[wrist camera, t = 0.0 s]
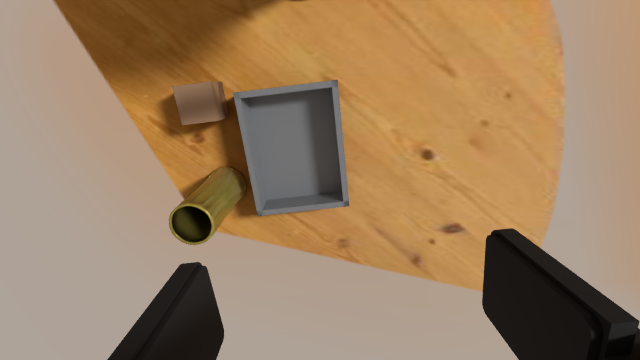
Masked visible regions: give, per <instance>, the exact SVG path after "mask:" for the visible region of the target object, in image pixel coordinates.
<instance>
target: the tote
mask: <svg viewBox="0 0 640 360" xmlns="http://www.w3.org/2000/svg"><path fill="white" fill-rule="evenodd" d="M233 95H234V100H235V105H236V110H237V115H238V120H239V125H240V130H241V135H242V140H243V145H244V150H245V155H246V160H247V165H248V170H249V175H250V180H251V185H252V190H253V195H254V200H255V205H256V210H257V215H258V216H263V215H272V214H281V213H290V212H299V211H308V210H317V209H326V208H336V207H345V206H349V197H348V186H347V176H346V165H345V154H344V144H343V133H342V123H341V112H340V101H339V91H338V80H333V81H325V82H317V83H308V84H300V85H292V86H284V87H276V88H268V89H260V90H252V91H244V92H236V93H233Z"/></svg>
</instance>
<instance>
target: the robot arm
mask: <svg viewBox="0 0 640 360" xmlns="http://www.w3.org/2000/svg"><path fill="white" fill-rule="evenodd" d="M482 305H483V309H484V312H485V314H486V315H487V317H488V318H489V319H490V321H491V322H492V323H493V325H494V326H495V328H496V329H497V330H498V332H499V333H500V334H501V336H502V337H503V339H504V340H505V341H506V343H507V344H508V345H509V347H510V348H511V350H512V351H513V352H514V354H515V355H516V356H517V358H518V359H519V360H640V329H639V328H638V325H639V321H638V320H637V319H636V318H634V317H633V316H631V315H630V314H629V313H627V312H626V311H625V310H623V309H622V308H621V307H619V306H618V305H617V304H615V303H614V302H612V301H611V300H610V299H609V298H607V297H606V296H604V295H603V294H602V293H600V292H599V291H598V290H596V289H595V288H594V287H592V286H591V285H589V284H588V283H587V282H585V281H584V280H583V279H581V278H580V277H579V276H577V275H576V274H575V273H573V272H572V271H571V270H569V269H568V268H566V267H565V266H564V265H562V264H561V263H560V262H558V261H557V260H556V259H554V258H553V257H552V256H550V255H549V254H547V253H546V252H545V251H543V250H542V249H541V248H539V247H538V246H537V245H535V244H534V243H532V242H531V241H530V240H528V239H527V238H526V237H524V236H523V235H522V234H520V233H519V232H518V231H516V230H515V229H501V230H494V231H492V233H491V235H488V236H487V238H486V250H485V266H484V283H483V299H482ZM223 338H224V328H223V324H222V321H221V317H220V313H219V310H218V306H217V302H216V299H215V295H214V292H213V288H212V284H211V281H210V277H209V273H208V270H207V267H206V266H202V265H201V263H199V262H195V263H186V264H181V265H180V266H179V267H178V268H177V269H176V271H175V272H174V273H173V275H172V276H171V277H170V279H169V280H168V281H167V282H166V284H165V285H164V286H163V288H162V289H161V290H160V292H159V293H158V294H157V296H156V297H155V298H154V299H153V301H152V302H151V303H150V305H149V306H148V307H147V309H146V310H145V311H144V313H143V314H142V315H141V317H140V318H139V319H138V320H137V322H136V323H135V324H134V326H133V327H132V328H131V330H130V331H129V332H128V334H127V335H126V336H125V337H124V339H123V340H122V341H121V343H120V344H119V345H118V347H117V348H116V349H115V350H114V352H113V353H112V354H111V356H110V357H109V358H108V360H216V358H217V356H218V353H219V350H220V348H221V345H222V342H223Z"/></svg>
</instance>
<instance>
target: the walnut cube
mask: <svg viewBox="0 0 640 360" xmlns="http://www.w3.org/2000/svg"><path fill="white" fill-rule="evenodd" d="M172 89H173V93H174V97H175V100H176V104H177V108H178V112H179V116H180V120H181V124H182V125H188V124H196V123H205V122H213V121H219V120H222V119H225V118H228V117H229V114H228V109H227V105H226V100H225V95H224V90H223V85H222V82H203V83H195V84H187V85H179V86H172Z"/></svg>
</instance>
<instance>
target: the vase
mask: <svg viewBox="0 0 640 360" xmlns="http://www.w3.org/2000/svg"><path fill="white" fill-rule="evenodd" d="M245 192H246V182H245V179H244V177H243V176H242V174H241V173H239V172H238V171H237V170H235V169H233V168H230V167H221V168H218V169H216V170H214V171H213V172H212V173H211V174H210V176H209V177H208V178H207V179H206V180H205V181H204V182H203V183H202V184H201V185H200V186H199V187H198V188H197V189H196V190H195V191H194V192H193V193H192V194H190V195H189V196H188V197H187V198H186V199H185V200H184V201H183V202H182V203H181V204H180V205H179V206H177V207H176V208H175V209H174V210H173V211H172V212H171V214H170V218H169V226H170V229H171V231H172V233H173V235H174V236H175V237H176V238H177V239H179V240H180V241H181V242H183V243H186V244H190V245H197V244H201V243H204V242H206V241H207V240H208V239H209V238H210V237H212V236H213V234H214V233H215V231H216V230H217V228H218V227H219V226H220V224H221V223H222V221H223V220H224V219H225V217H226V216H227V215H228V214H229V213H230V211H231V210H232V209H233V207H234V206H235V204H236V203H237V202H238V201H239V200H240V199H241V198H242V197H243V196H244V194H245Z"/></svg>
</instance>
